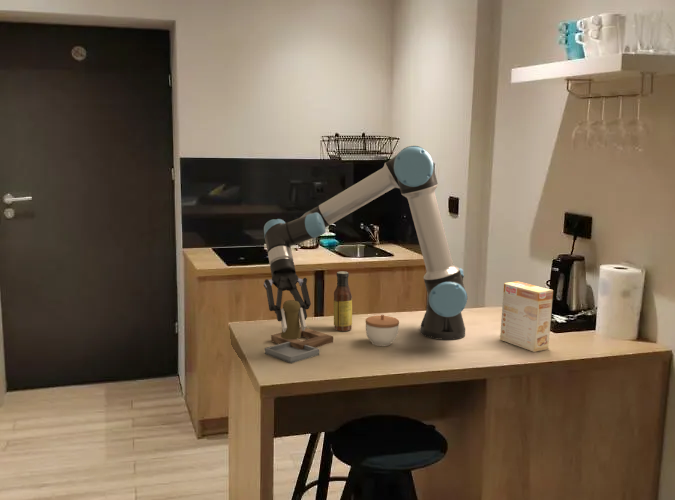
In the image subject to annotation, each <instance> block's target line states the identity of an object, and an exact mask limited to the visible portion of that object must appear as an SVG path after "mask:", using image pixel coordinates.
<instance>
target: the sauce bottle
mask: <svg viewBox="0 0 675 500" xmlns="http://www.w3.org/2000/svg"><path fill="white" fill-rule="evenodd" d="M349 274H350V273H349V272H348V271H343V270H342V271H337V272H336V280H337V281H336V282H337V283H336V287H335V290H334V292H333V327H334V330H335V331H338V332H350V331H351V330H352V328H353V327H352V326H353V295H352V293H351V290H350V286H349V276H350V275H349Z"/></svg>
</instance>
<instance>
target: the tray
mask: <svg viewBox="0 0 675 500" xmlns="http://www.w3.org/2000/svg"><path fill="white" fill-rule="evenodd" d="M290 343H291V342H285V343H282V344H278V343H277V344H275V345H271V346H268V347H264V354H265V355H267V356H270V357H272V358H276V359H278V360H281V361H284V362H287V363H289V364H294V363H297V362H300V361H303V360H307V359H309V358H310V359H311V358H313V357H316V356H320V349H319V347H311V346H308V345H304V349H302V350H301V349H298V348H295V347H292V346H290Z"/></svg>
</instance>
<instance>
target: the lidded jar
mask: <svg viewBox="0 0 675 500" xmlns="http://www.w3.org/2000/svg"><path fill="white" fill-rule="evenodd" d="M399 325H400V320H399V319H398V318H396V317H393V316H388V315H384V314H381V315H373V316H369V317H366V319H365V332H366V336H367V338H368V340H369V341H370V342H371V343H372V345H374V346H377V347H387V346H391V344H392V343H393V342H394V341H395V340H396V338H397V336H398V333H399V327H400V326H399Z"/></svg>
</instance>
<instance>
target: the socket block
mask: <svg viewBox="0 0 675 500" xmlns="http://www.w3.org/2000/svg"><path fill="white" fill-rule="evenodd" d="M300 332H301V337H302V336H303V337H302V338H305V337H306V339H305V340H300V339H284V338H282V337H281V332H278V333H274V334H271V335H270V338H271V339H270V342H273V343H275V344H277V345H278V344H282V343H285V342H291V343H290V346H292V347H295V348H298V349H301V350H302V349H304V345H308V346H311V347H315V348H319V347H322V346H325V345H329V344H331V343H334V335H330V334H328V333H323V332H321V331H318V330H314V329H310V328H308V327H306V328H305V330H304V331H302V329H301V327H300ZM301 337H300V338H301Z"/></svg>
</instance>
